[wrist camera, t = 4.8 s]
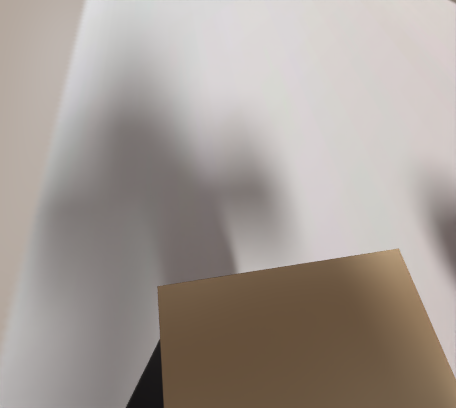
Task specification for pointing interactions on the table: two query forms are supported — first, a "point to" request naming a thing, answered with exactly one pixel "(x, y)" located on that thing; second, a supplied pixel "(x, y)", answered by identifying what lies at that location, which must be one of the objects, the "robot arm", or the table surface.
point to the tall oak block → (303, 339)
